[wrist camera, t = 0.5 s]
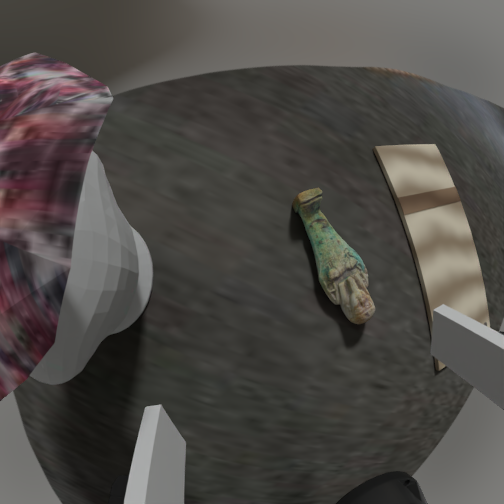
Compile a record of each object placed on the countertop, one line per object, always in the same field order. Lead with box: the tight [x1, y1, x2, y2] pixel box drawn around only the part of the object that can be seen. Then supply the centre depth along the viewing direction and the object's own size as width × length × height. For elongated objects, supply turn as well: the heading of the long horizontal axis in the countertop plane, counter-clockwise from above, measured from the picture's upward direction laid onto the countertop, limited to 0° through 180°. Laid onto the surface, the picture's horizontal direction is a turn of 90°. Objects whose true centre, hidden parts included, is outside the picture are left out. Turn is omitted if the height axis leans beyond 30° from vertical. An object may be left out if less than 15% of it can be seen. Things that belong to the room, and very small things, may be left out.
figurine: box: [292, 188, 375, 324], centre depth 28 cm, size 6×15×4 cm, turn 18°
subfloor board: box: [373, 144, 490, 371], centre depth 31 cm, size 32×14×1 cm, turn 15°
